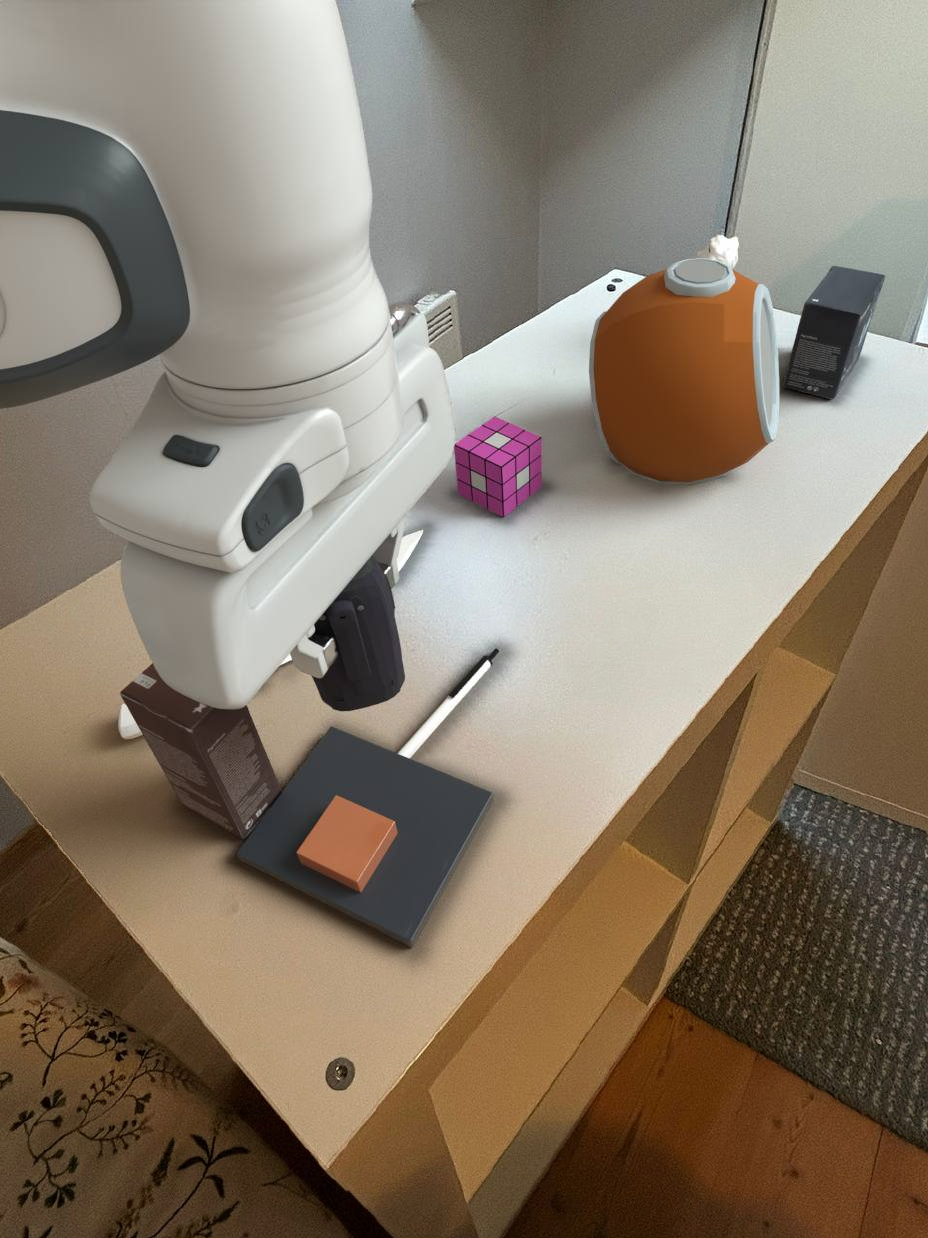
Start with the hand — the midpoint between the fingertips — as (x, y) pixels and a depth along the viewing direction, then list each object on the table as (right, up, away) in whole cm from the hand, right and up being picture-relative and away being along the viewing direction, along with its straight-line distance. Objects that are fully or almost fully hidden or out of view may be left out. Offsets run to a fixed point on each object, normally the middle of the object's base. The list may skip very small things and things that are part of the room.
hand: (349, 624), depth 44 cm
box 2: (+44, +26, +44) cm, 68 cm away
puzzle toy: (+9, +12, +34) cm, 38 cm away
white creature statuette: (+33, +32, +50) cm, 68 cm away
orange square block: (-1, -14, +9) cm, 17 cm away
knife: (-8, 0, +24) cm, 25 cm away
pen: (+3, -8, +16) cm, 18 cm away
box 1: (-10, -12, +13) cm, 20 cm away
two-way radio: (0, -4, +4) cm, 6 cm away
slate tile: (0, -14, +11) cm, 17 cm away
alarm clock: (+27, +17, +37) cm, 49 cm away
